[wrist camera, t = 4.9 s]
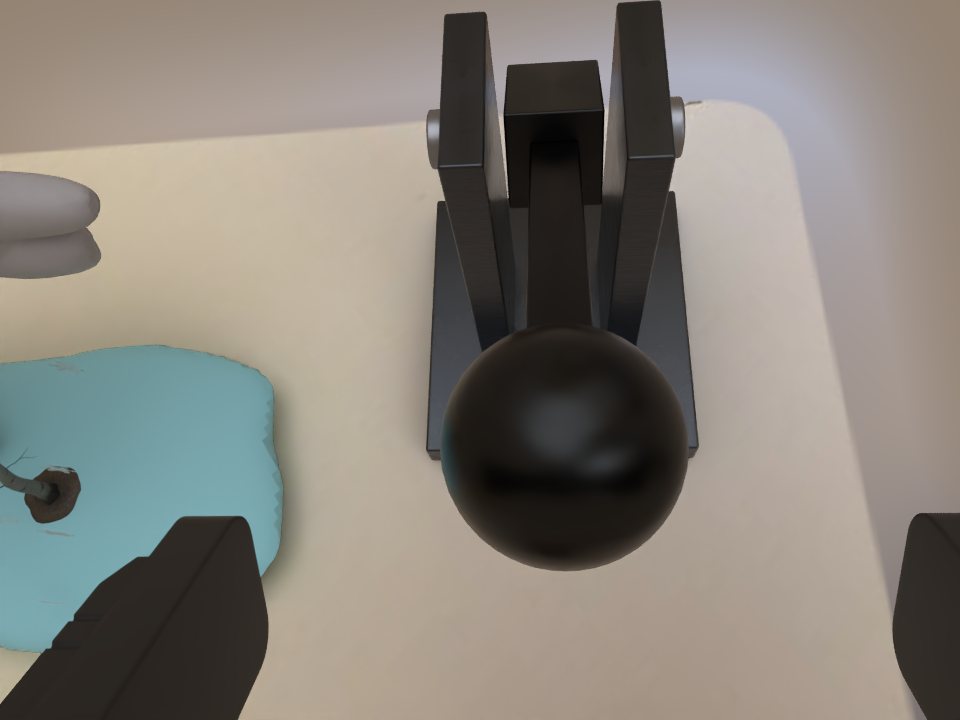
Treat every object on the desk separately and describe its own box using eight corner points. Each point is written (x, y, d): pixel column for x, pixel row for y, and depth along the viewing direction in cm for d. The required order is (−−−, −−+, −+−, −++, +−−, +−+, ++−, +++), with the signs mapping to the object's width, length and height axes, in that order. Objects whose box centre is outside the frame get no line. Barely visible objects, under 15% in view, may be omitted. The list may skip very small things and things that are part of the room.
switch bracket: (693, 458, 27) (795, 273, 15) (431, 460, 28) (332, 287, 16) (671, 208, 31) (737, -94, 19) (441, 217, 31) (368, -66, 20)
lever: (692, 621, 11) (723, 455, 9) (444, 619, 12) (409, 458, 9) (622, 169, 21) (627, 31, 19) (488, 175, 21) (476, 41, 19)
